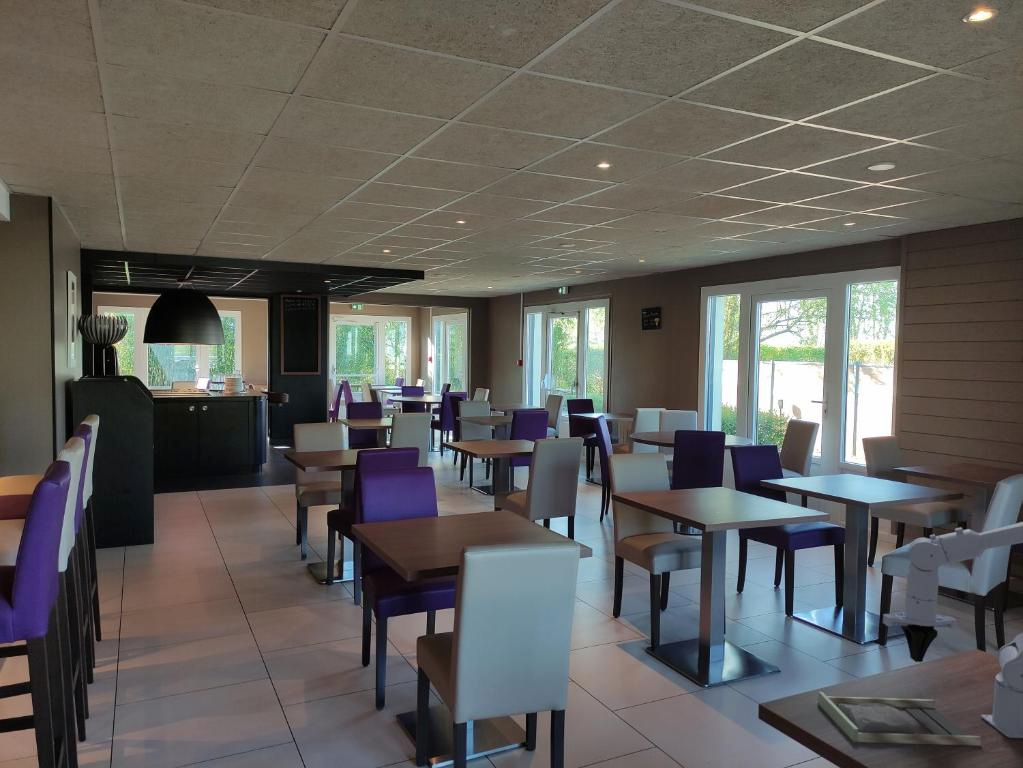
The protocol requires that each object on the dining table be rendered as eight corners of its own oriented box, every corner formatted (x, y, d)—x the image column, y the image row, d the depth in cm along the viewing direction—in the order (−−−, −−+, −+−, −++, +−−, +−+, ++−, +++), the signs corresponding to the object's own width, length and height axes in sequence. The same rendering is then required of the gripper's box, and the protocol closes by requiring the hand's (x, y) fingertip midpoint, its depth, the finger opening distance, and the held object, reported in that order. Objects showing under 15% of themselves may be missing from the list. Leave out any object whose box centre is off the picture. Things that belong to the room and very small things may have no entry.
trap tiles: (934, 709, 148) (934, 708, 148) (975, 742, 136) (975, 741, 136) (903, 708, 148) (903, 707, 148) (941, 741, 136) (941, 740, 136)
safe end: (821, 703, 148) (822, 691, 148) (857, 741, 134) (858, 729, 134) (817, 703, 148) (818, 691, 148) (853, 741, 134) (854, 728, 134)
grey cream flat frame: (932, 707, 149) (933, 699, 149) (980, 745, 135) (981, 737, 135) (821, 703, 148) (822, 696, 148) (857, 741, 134) (858, 733, 134)
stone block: (830, 724, 144) (860, 742, 134) (830, 699, 145) (860, 715, 135) (885, 726, 145) (919, 743, 135) (884, 701, 146) (918, 716, 136)
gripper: (943, 591, 154) (937, 652, 154) (877, 588, 153) (872, 650, 154) (965, 602, 147) (959, 667, 147) (895, 600, 146) (890, 665, 147)
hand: (916, 659), depth 150 cm, fingers closed
